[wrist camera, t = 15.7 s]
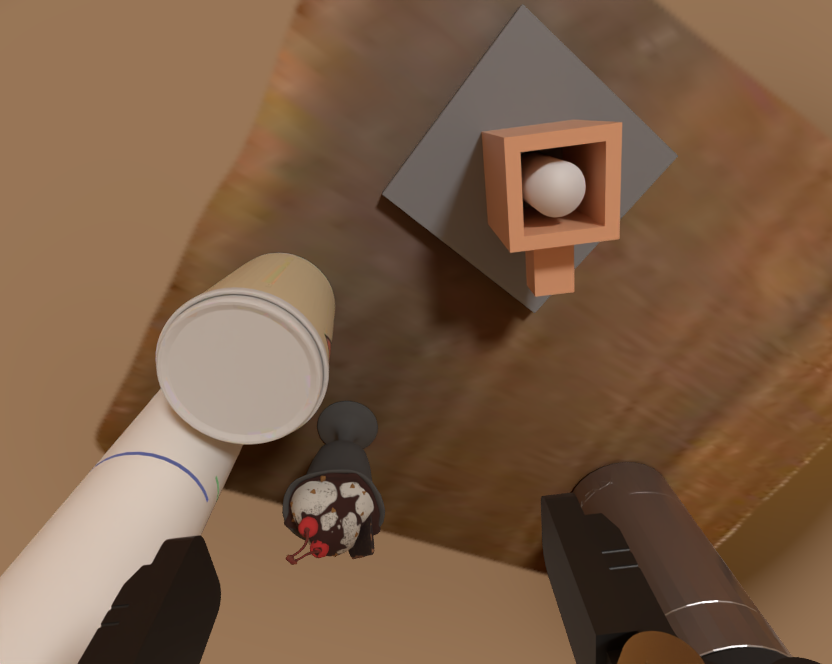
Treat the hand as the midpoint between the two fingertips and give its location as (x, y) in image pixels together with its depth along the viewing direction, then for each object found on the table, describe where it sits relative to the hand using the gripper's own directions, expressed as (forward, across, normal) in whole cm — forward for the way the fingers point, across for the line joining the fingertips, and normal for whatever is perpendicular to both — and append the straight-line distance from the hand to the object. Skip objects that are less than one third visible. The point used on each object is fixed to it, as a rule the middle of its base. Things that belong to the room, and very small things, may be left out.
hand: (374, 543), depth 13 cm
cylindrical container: (+28, +16, +10) cm, 34 cm away
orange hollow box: (+27, -10, -2) cm, 29 cm away
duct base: (+28, -10, -4) cm, 30 cm away
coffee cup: (+28, +8, +3) cm, 30 cm away
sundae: (+28, +6, +14) cm, 32 cm away
